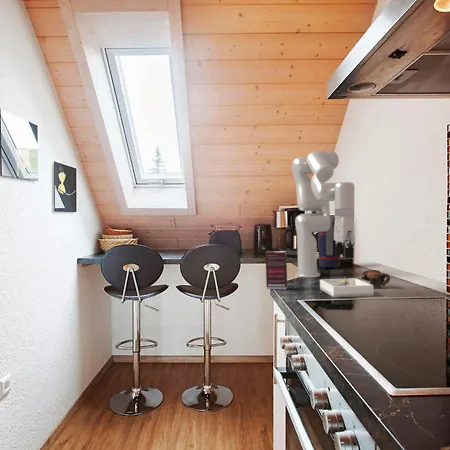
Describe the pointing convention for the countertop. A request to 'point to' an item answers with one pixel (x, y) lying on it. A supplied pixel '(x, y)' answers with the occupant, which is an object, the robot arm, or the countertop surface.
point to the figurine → (344, 282)
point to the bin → (346, 288)
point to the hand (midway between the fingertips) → (344, 256)
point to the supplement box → (276, 270)
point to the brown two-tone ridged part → (375, 278)
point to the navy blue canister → (328, 248)
